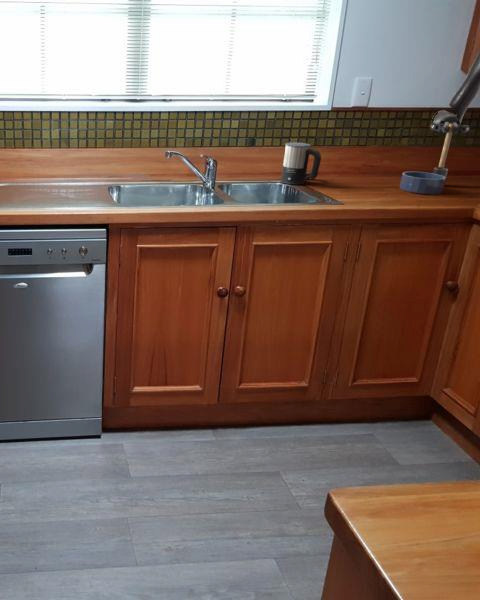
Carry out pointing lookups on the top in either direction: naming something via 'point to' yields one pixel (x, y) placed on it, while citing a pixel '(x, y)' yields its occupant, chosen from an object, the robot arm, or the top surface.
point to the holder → (441, 171)
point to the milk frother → (299, 163)
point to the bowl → (422, 182)
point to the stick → (446, 145)
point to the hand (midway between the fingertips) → (451, 130)
